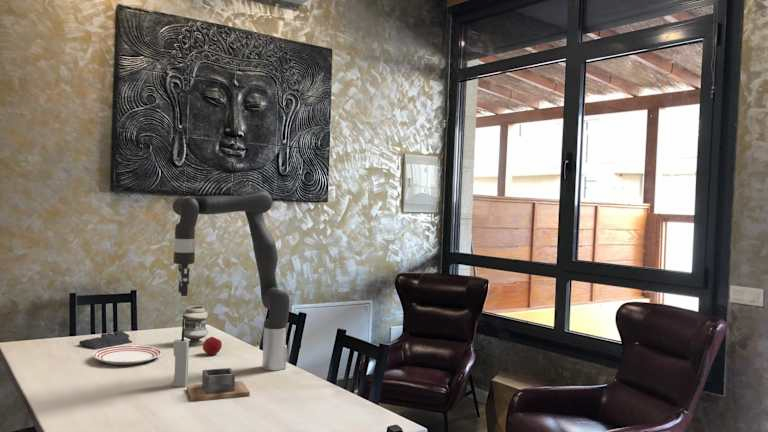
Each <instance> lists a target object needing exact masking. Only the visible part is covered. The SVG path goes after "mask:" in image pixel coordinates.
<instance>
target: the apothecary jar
mask: <svg viewBox="0 0 768 432" xmlns="http://www.w3.org/2000/svg"><path fill="white" fill-rule="evenodd" d="M205 307H206V306H203V305H191V306H190V305H189V306H187V307H186V308H185V311H184V312H183V313H182V319H184V339H185V338H186V340H189V347H203V344H204V342H205V341H203V340H201V339H203V338H206V337H207V336H208V335H209V330H208V328H207V327H206V319H207V318H208V317H209V313H208V312H207V311H206V309H205Z"/></svg>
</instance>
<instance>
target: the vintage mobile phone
mask: <svg viewBox="0 0 768 432" xmlns="http://www.w3.org/2000/svg"><path fill="white" fill-rule="evenodd" d="M184 328H185V319H184V318H182V328H181V330H182V331H181V339H175V340H173V341H172V346H173V356H174V378H173V381H172V382H171V387H175V388H176V387H181V388H182V387H187V385H188V383H189V380H188V379H189V377H188V376H189V353H190V351H189V350H190V346H189V341H190V339H185V337H184Z"/></svg>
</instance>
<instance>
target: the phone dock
mask: <svg viewBox="0 0 768 432" xmlns="http://www.w3.org/2000/svg"><path fill="white" fill-rule="evenodd" d="M235 380H236V374H235V372H234V371H233V370H232V368H231V367H225V368H210V369H203V370H202V379H201V384H199V383H198V384H190V385H189V384H186V391H187V393H188V395H189V399H190V401H191V402H200V401H201V402H202V401H209V400H221V399H233V398H234V399H235V398H243V397H250V395H251V394H250V393H251V392H250V390H249V389H248V386H246V384H245V383H244V382H243V381H242V380H237V381H235Z"/></svg>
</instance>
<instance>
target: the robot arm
mask: <svg viewBox="0 0 768 432" xmlns="http://www.w3.org/2000/svg"><path fill="white" fill-rule="evenodd" d="M272 206H273V198H272V197H271V195H270V193H268V192H266V191H264V190H252V191H251V190H250V191H247V192H246V193H244V195H207V196H206V195H205V196H201V197H199V196H195V197H194V196H182V197H178V198H176V199H175V200H174V201H173V203H172V211H173V212H174V213H175V214H176V215H178V216H180V218H179V222H178V223H176V225H175V227H174V228H175V229H174V242H173V260H172V261H173V262H172V263H173V264H175V265H177V267H178V268H177V281H178V293H180V296H181V297H187V296H188V293H189V292H188V290H189V288H188V287H189V285H190V272H191V271H190V268H189V265H194V264H195V258H196V257H195V255H196V253H195V252H196V242H195V241H196V239H195V237H196V225H197V221H198V218H199V215H218V214H227V213H236V212H244V214H245V217H246V220H247V222H248V223H247V224H248V228H249V232H250V237H251V242H252V247H253V253H254V258H255V262H256V267H257V273H258V278H259V284H260V285H259V287H260V288H259V289H260V297H261V303H262V305H263V307H264V308H265V309H267V310H269V311H268V318H267V319H265V320H264V321H263V339H262V341H263V342H262V344H263V345H262V363H261V364H262V369H264V370H266V371H281V370H285V369H287V352H288V351H287V344H286V339H287V323H288V321H289V315H290V314H289V312H290V296H289V293H287V292H286V291H285V290H282V289H279V287H278V283H277V282H278V281H277V277H276V272H277V271H276V270H277V266H278V260H279V259H278V258H279V257H278V256H279V255H278V251H277V245H276V241H275V239H274V237H273V235H272V233H271V232H270V230H269V228H268V227H267V224H266V222H265V218H264V214H265V213H267V212H269V211H270V210H271V208H272Z"/></svg>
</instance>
